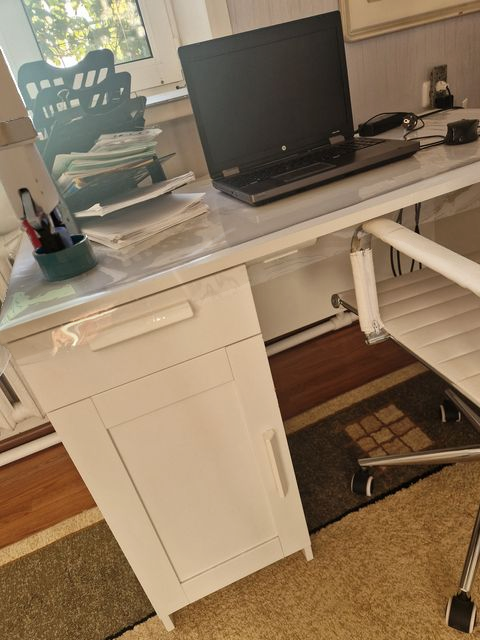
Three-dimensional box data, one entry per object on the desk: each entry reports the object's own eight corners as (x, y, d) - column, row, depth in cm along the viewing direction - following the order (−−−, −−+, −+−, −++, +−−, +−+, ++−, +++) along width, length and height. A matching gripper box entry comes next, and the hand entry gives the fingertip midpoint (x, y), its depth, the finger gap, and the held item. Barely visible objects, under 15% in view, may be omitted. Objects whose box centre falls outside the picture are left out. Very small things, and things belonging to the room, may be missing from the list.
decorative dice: (51, 254, 78) (40, 231, 76) (74, 247, 79) (65, 225, 77) (50, 261, 75) (39, 237, 73) (74, 254, 76) (64, 230, 74)
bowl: (65, 282, 73) (52, 256, 71) (34, 279, 78) (21, 254, 76) (108, 259, 79) (97, 234, 77) (76, 257, 84) (66, 233, 82)
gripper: (0, 136, 74) (49, 244, 84) (-37, 149, 60) (27, 277, 70) (46, 125, 75) (90, 233, 84) (20, 135, 61) (76, 264, 70)
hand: (61, 252), depth 77 cm, fingers closed on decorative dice, 4 cm apart
